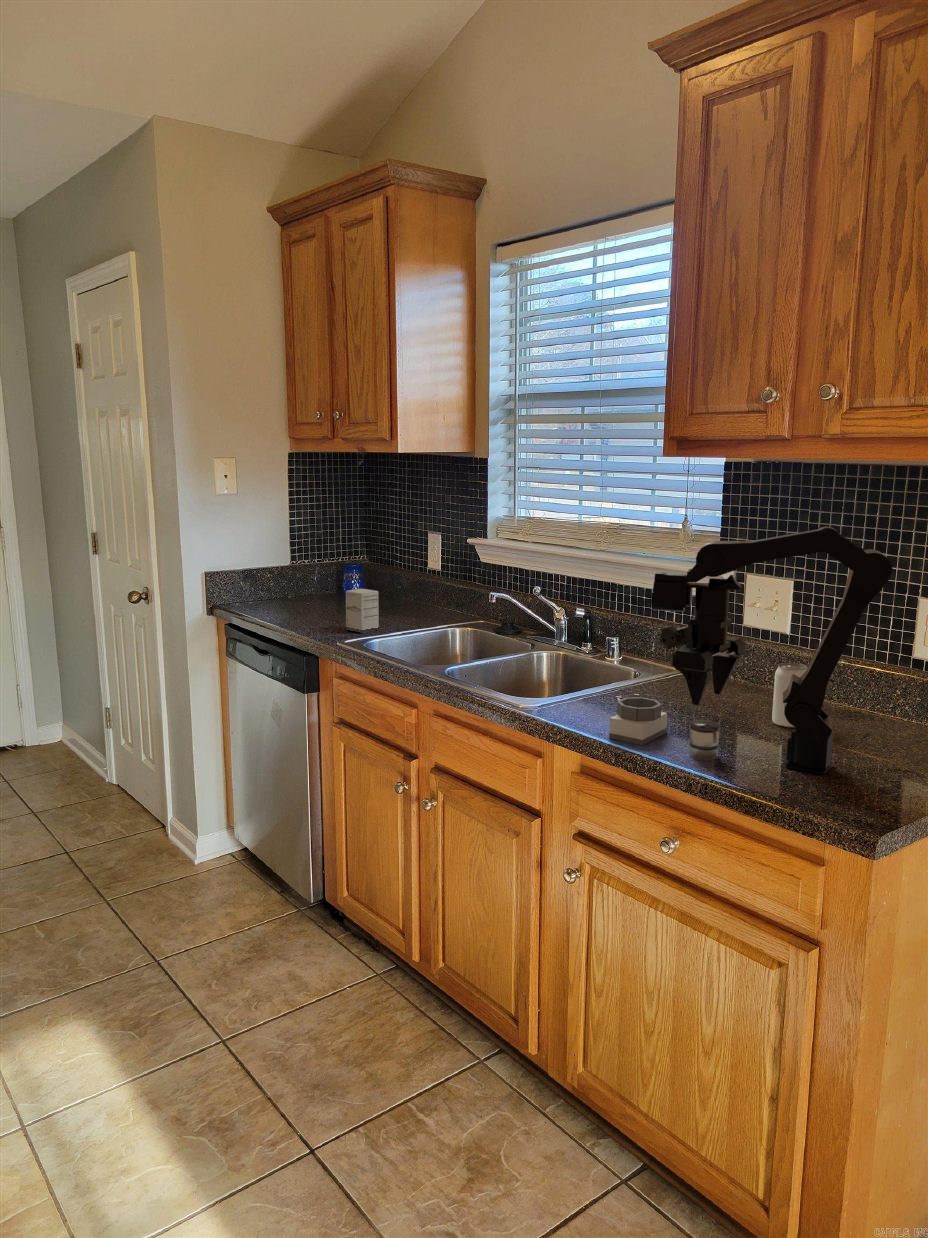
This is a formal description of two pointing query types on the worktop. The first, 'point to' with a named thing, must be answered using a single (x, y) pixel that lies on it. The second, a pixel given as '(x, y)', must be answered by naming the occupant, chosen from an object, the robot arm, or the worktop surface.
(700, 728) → the lens
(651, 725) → the octagonal ring tray
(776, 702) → the can
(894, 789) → the worktop surface
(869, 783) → the worktop surface
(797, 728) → the robot arm
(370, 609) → the beige wooden tall block
